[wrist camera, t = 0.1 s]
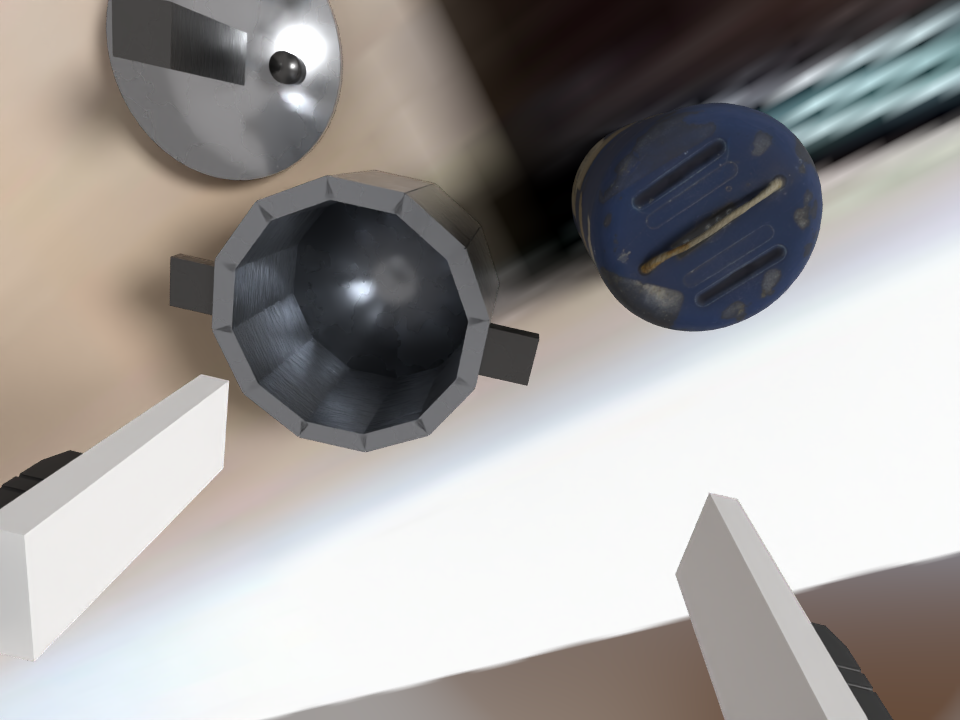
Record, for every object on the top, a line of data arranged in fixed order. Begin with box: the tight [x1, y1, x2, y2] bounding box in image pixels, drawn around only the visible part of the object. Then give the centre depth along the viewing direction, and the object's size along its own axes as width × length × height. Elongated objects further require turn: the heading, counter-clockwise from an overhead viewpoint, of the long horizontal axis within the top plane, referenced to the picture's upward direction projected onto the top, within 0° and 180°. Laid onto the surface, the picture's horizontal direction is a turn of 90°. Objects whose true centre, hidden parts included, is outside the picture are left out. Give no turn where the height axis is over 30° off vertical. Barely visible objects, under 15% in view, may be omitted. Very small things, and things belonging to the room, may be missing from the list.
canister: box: [572, 103, 823, 331], centre depth 31 cm, size 10×10×18 cm
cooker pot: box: [170, 170, 539, 452], centre depth 38 cm, size 16×22×10 cm
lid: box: [106, 0, 343, 180], centre depth 34 cm, size 15×15×11 cm
